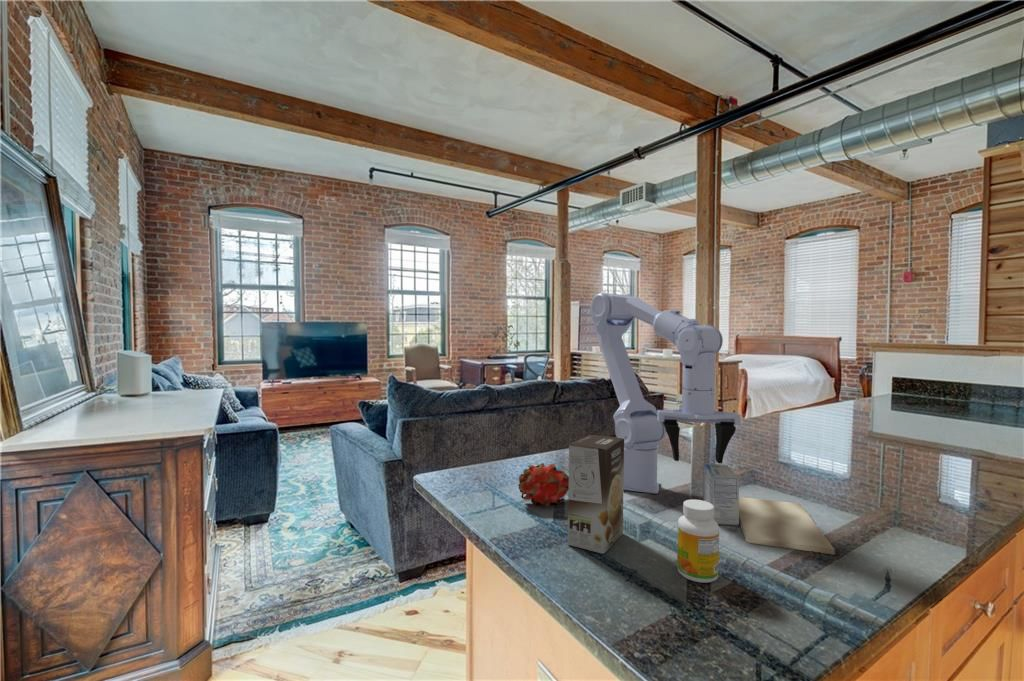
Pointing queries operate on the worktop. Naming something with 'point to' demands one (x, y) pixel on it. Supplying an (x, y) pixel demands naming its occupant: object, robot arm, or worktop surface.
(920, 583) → the worktop surface
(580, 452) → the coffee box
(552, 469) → the dragon fruit
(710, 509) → the supplement bottle
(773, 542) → the board
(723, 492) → the medicine box
